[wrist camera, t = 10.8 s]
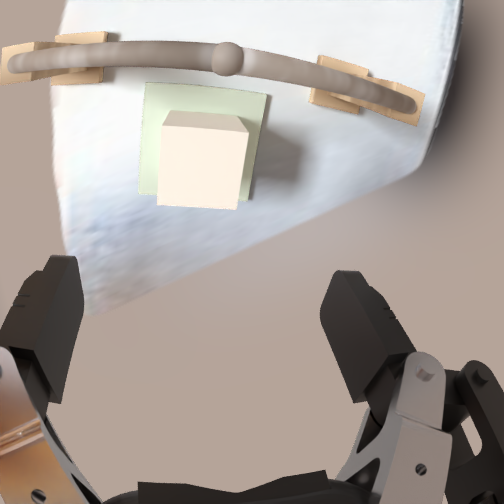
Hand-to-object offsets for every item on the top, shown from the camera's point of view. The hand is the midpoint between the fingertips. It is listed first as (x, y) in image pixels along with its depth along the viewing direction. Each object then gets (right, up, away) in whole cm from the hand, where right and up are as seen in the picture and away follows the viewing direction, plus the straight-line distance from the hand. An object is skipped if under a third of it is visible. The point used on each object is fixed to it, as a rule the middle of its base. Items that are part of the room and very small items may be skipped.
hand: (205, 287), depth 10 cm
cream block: (-3, +9, +14) cm, 17 cm away
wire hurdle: (-2, +15, +11) cm, 19 cm away
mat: (-3, +10, +14) cm, 17 cm away
